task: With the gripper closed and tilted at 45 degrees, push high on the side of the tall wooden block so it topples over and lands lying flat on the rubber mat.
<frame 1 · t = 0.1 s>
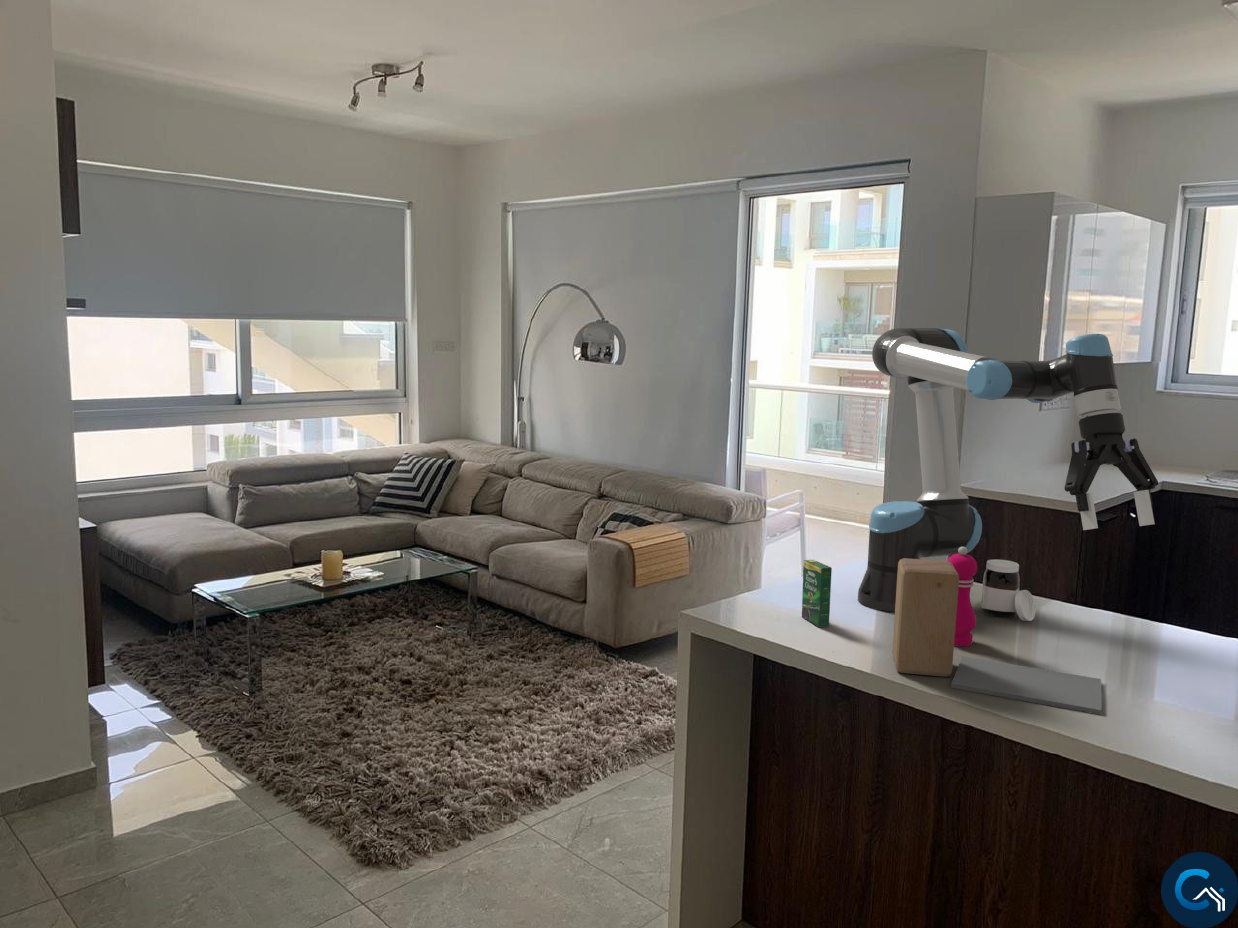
hand: (1119, 527, 174), 28 cm above the countertop, tool tilted 20°, fingers open, 13 cm apart
pepper mill: (955, 642, 193), on the countertop
wooden block: (920, 668, 178), on the countertop
spread jar: (1007, 615, 212), on the countertop
coffee box: (814, 622, 204), on the countertop
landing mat: (1026, 685, 170), on the countertop
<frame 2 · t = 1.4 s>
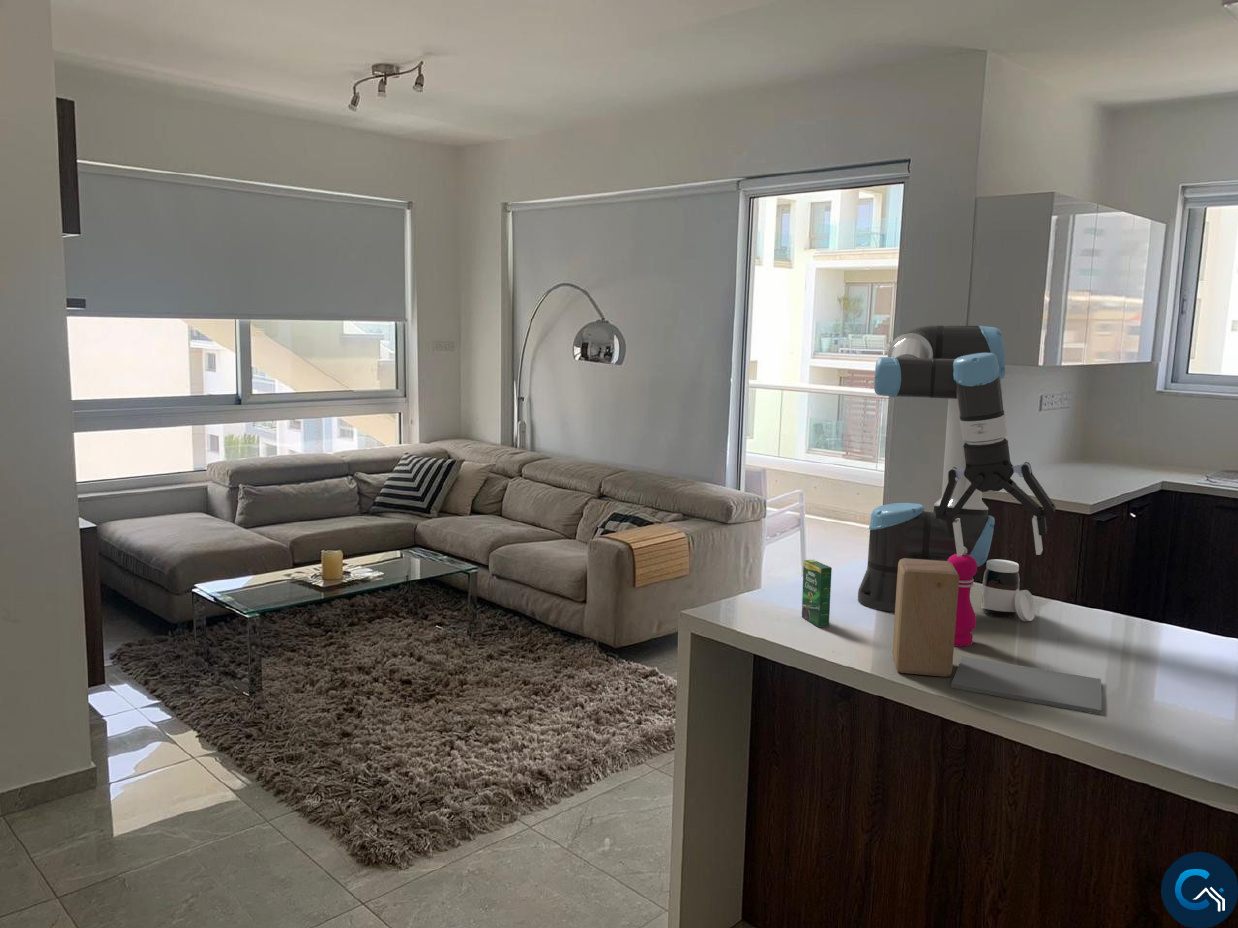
hand: (999, 553, 172), 23 cm above the countertop, tool pointing down, fingers open, 13 cm apart
nothing on the countertop moved.
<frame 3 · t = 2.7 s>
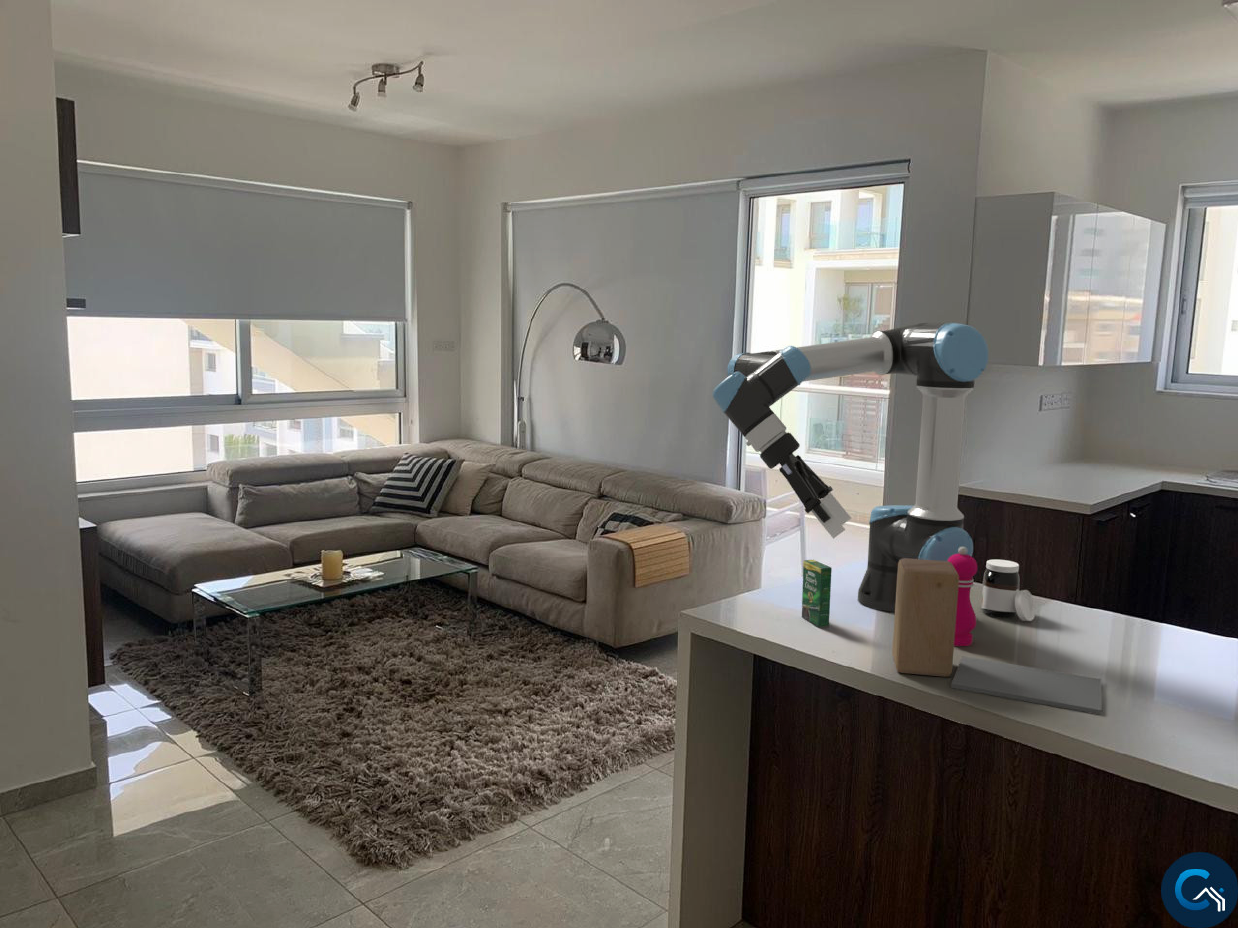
hand: (842, 528, 181), 25 cm above the countertop, tool tilted 40°, fingers open, 13 cm apart
nothing on the countertop moved.
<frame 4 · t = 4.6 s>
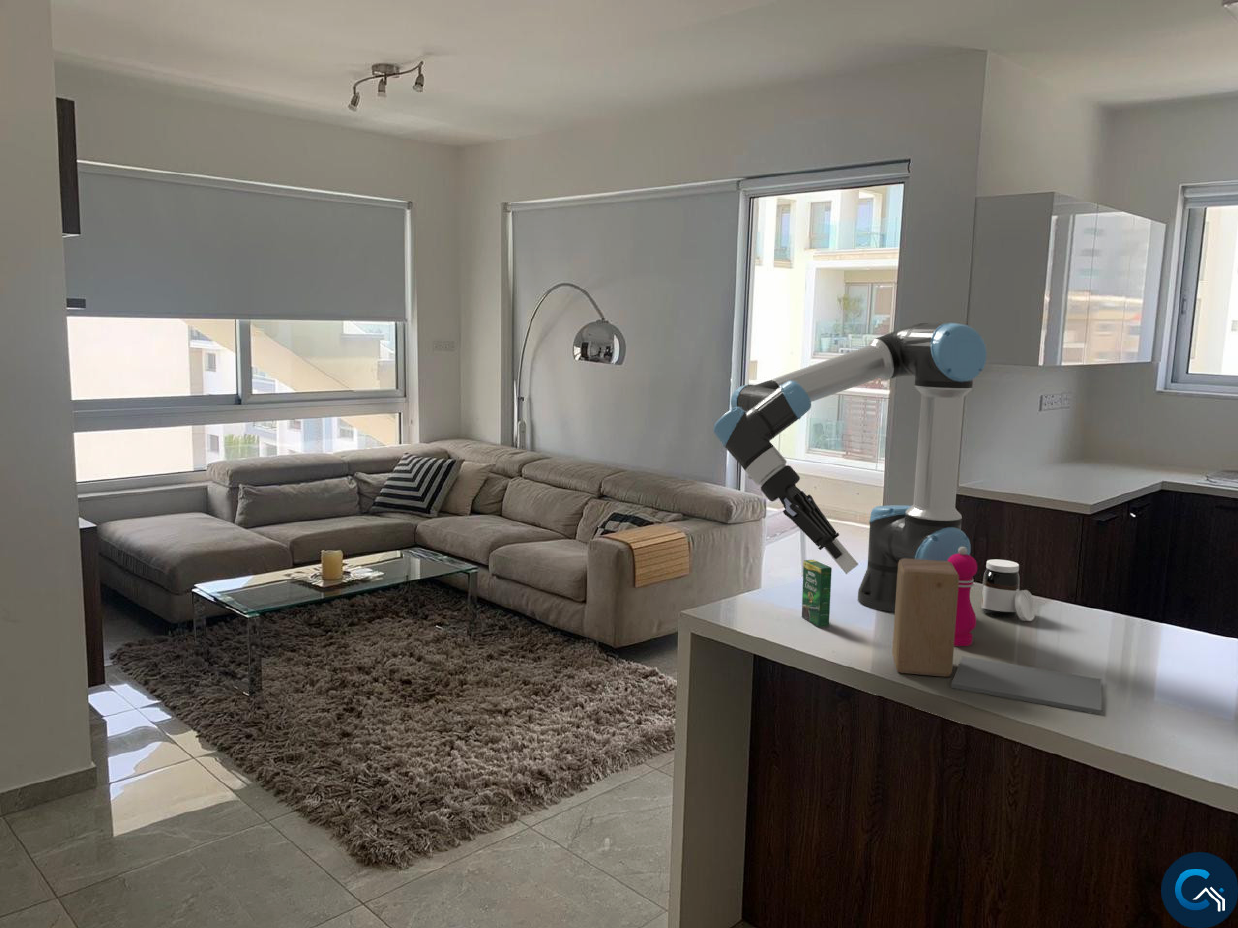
hand: (852, 569, 181), 17 cm above the countertop, tool tilted 45°, fingers closed
nothing on the countertop moved.
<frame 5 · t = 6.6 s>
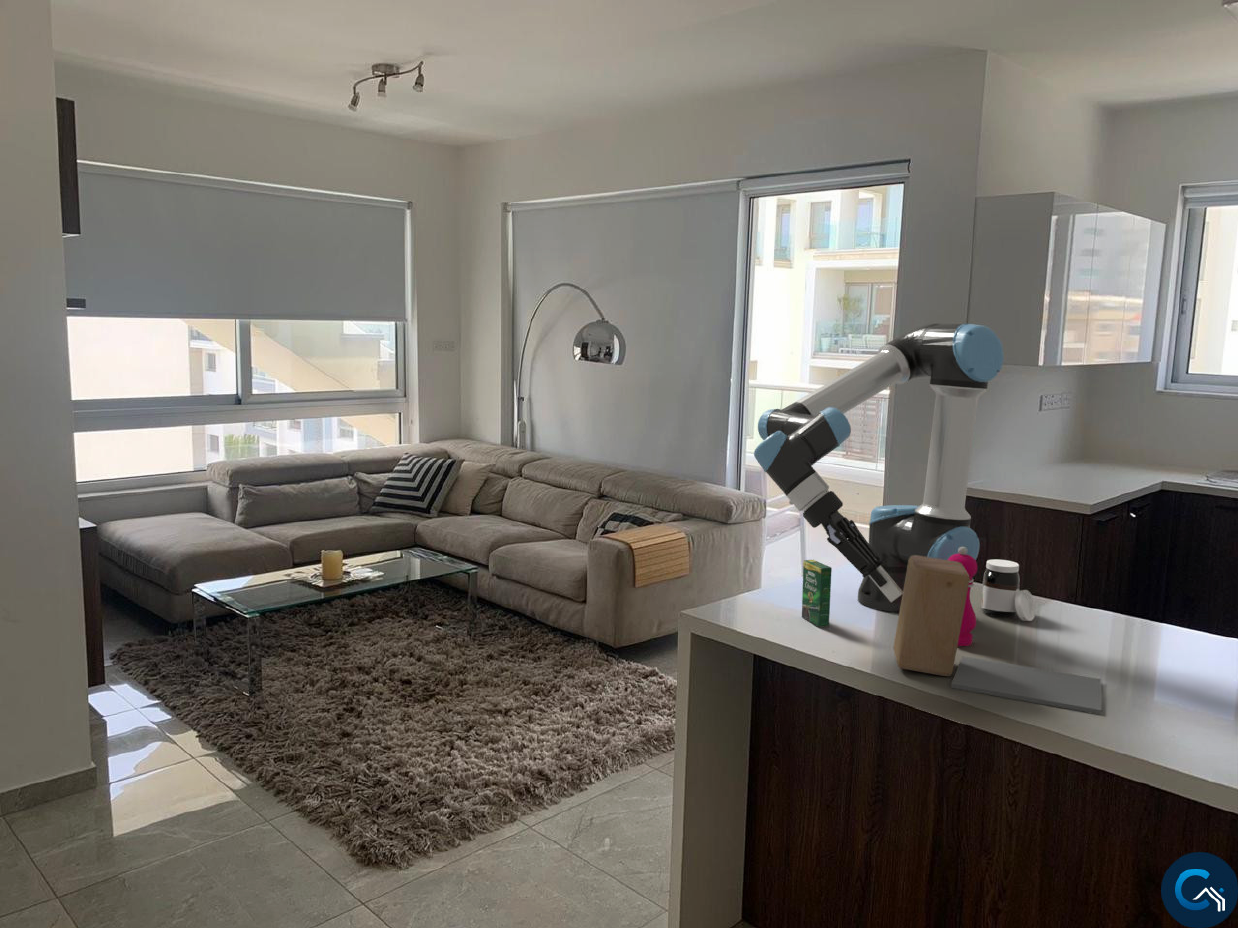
hand: (897, 597, 178), 13 cm above the countertop, tool tilted 45°, fingers closed
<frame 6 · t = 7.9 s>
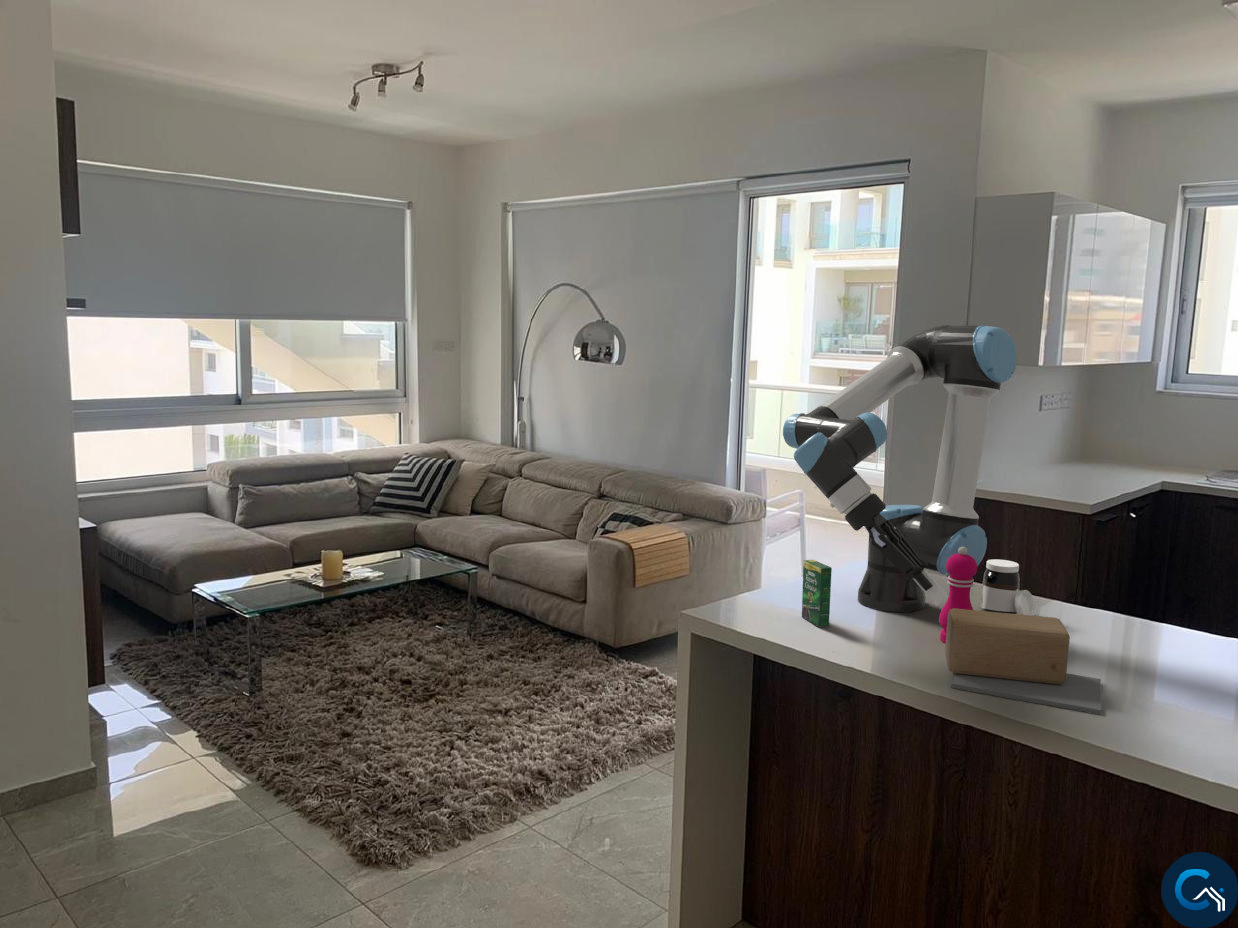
hand: (942, 600, 175), 14 cm above the countertop, tool tilted 45°, fingers closed
wooden block: (946, 639, 177), point 6 cm above the countertop, touching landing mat
everything else where it was.
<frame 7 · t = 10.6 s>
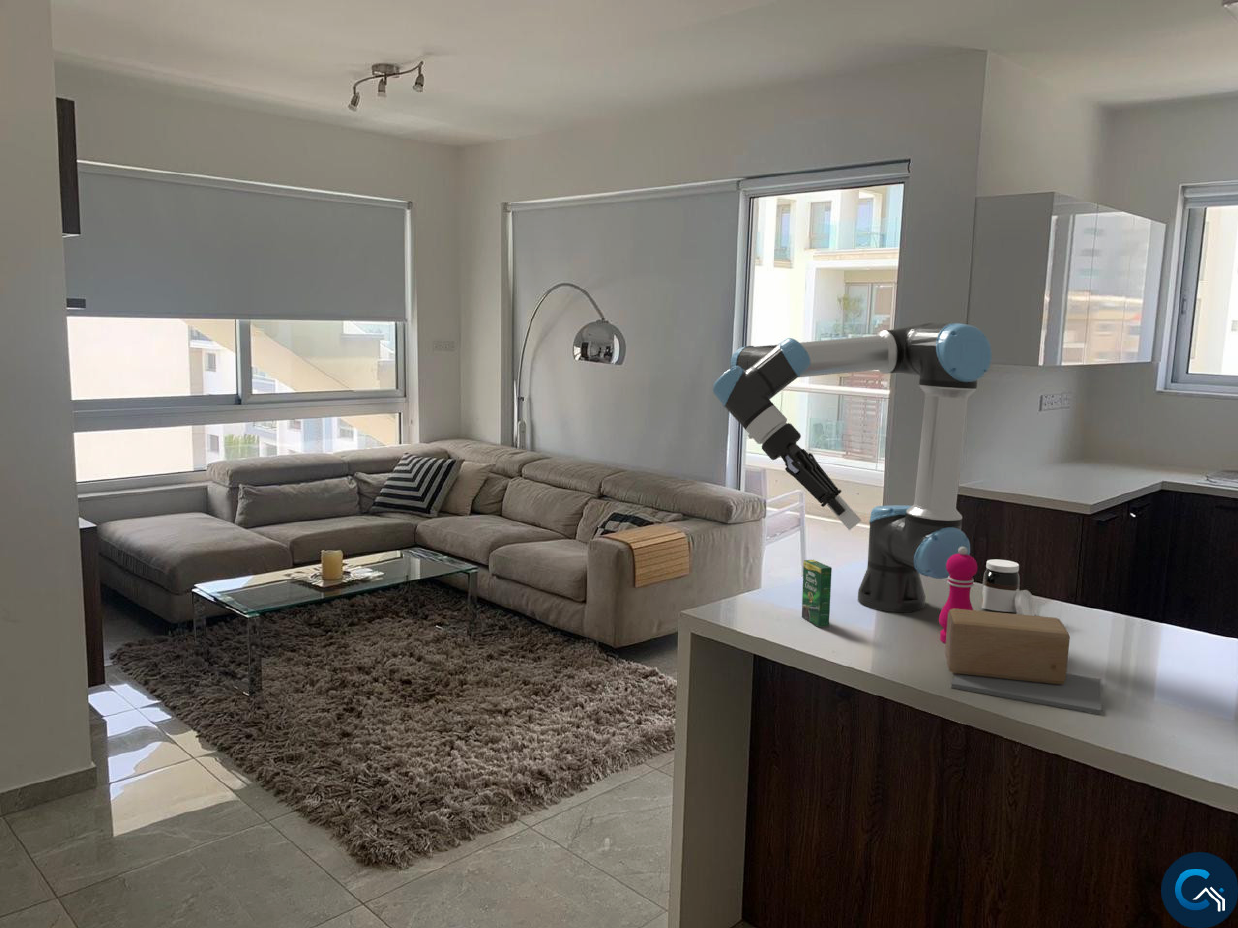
hand: (855, 525, 180), 26 cm above the countertop, tool tilted 45°, fingers closed
nothing on the countertop moved.
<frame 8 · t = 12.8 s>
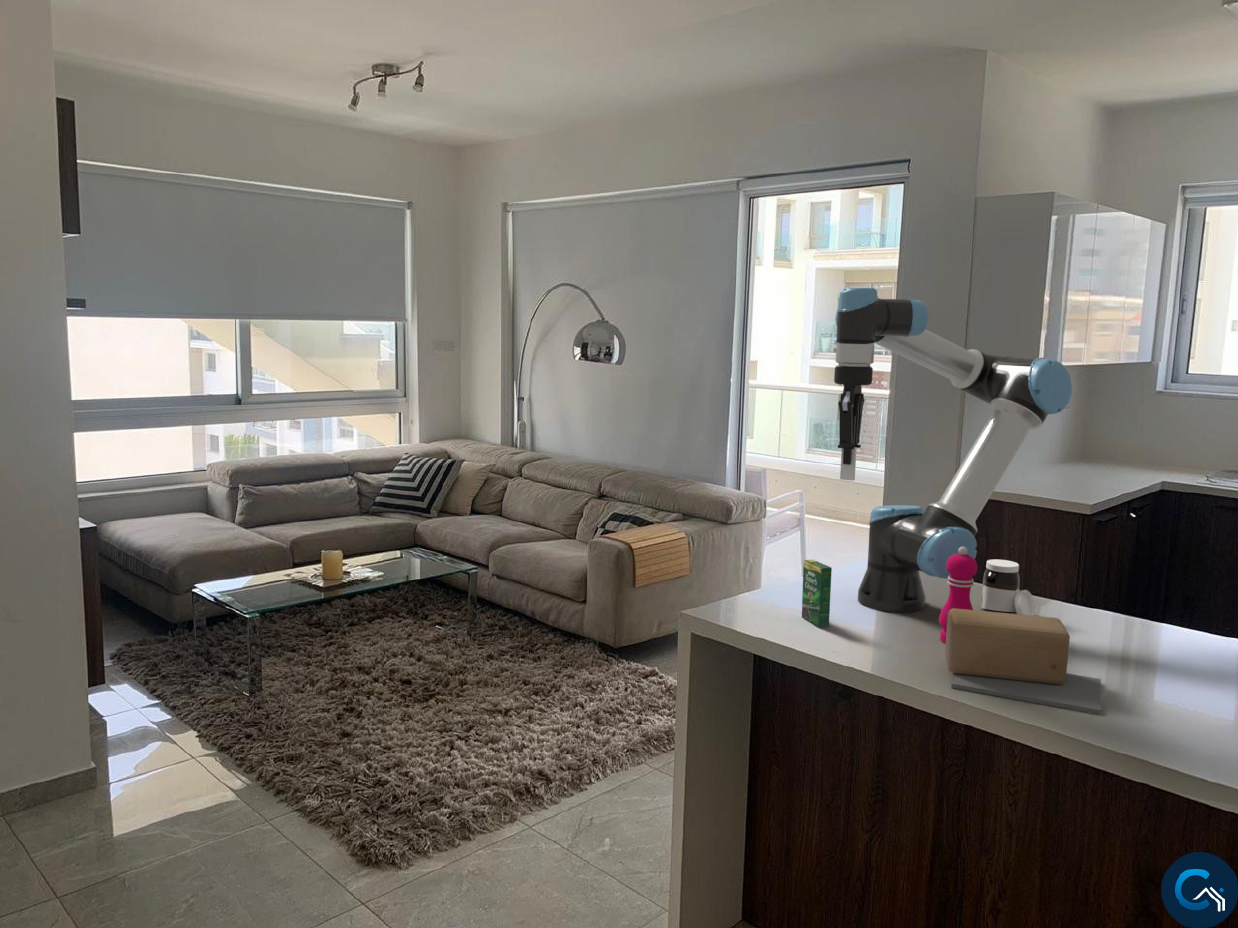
hand: (847, 479, 194), 32 cm above the countertop, tool pointing down, fingers closed
nothing on the countertop moved.
at the end: wooden block tilted 90°; wooden block touching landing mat; wooden block inside the target area (5.9 cm from its centre), point 5.8 cm above the countertop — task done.
